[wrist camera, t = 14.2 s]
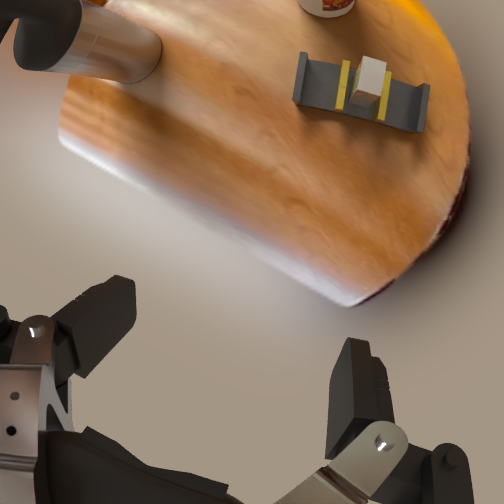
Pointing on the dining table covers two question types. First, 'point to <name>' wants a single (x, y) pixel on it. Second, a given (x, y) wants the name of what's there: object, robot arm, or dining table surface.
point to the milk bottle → (326, 7)
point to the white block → (367, 82)
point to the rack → (336, 100)
